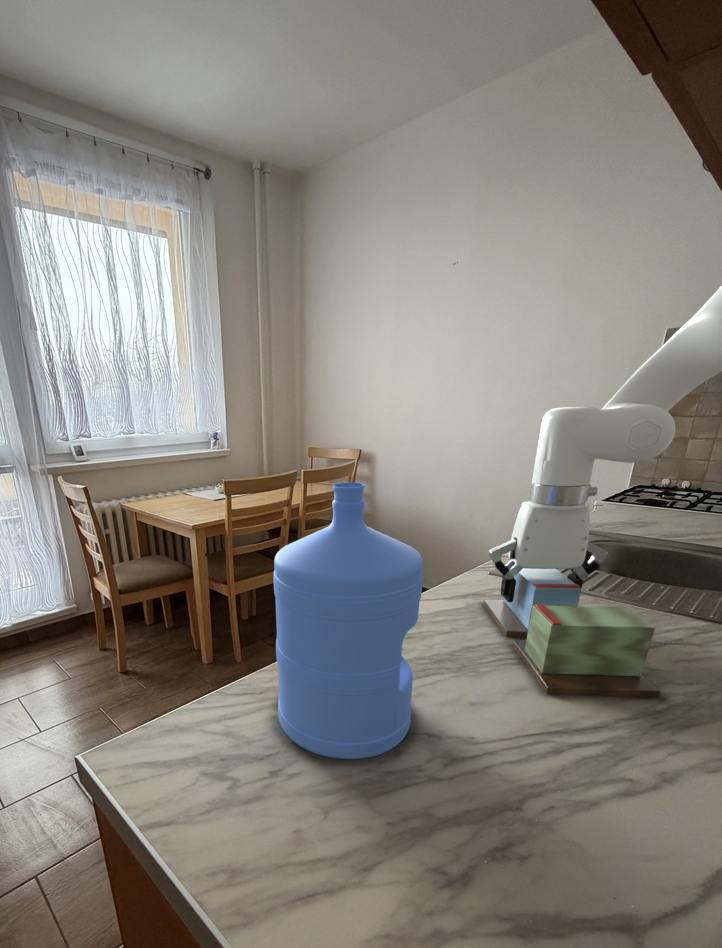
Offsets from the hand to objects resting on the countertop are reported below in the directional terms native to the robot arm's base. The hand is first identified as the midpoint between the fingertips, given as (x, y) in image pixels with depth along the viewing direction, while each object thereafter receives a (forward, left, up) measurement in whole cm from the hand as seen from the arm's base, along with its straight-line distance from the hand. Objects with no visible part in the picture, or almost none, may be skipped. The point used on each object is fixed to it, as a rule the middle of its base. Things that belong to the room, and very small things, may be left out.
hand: (538, 599), depth 79 cm
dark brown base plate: (0, 0, -4) cm, 4 cm away
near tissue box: (0, +16, -3) cm, 16 cm away
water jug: (+32, +29, -4) cm, 43 cm away
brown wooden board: (0, +16, -4) cm, 17 cm away
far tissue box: (0, 0, -3) cm, 3 cm away
